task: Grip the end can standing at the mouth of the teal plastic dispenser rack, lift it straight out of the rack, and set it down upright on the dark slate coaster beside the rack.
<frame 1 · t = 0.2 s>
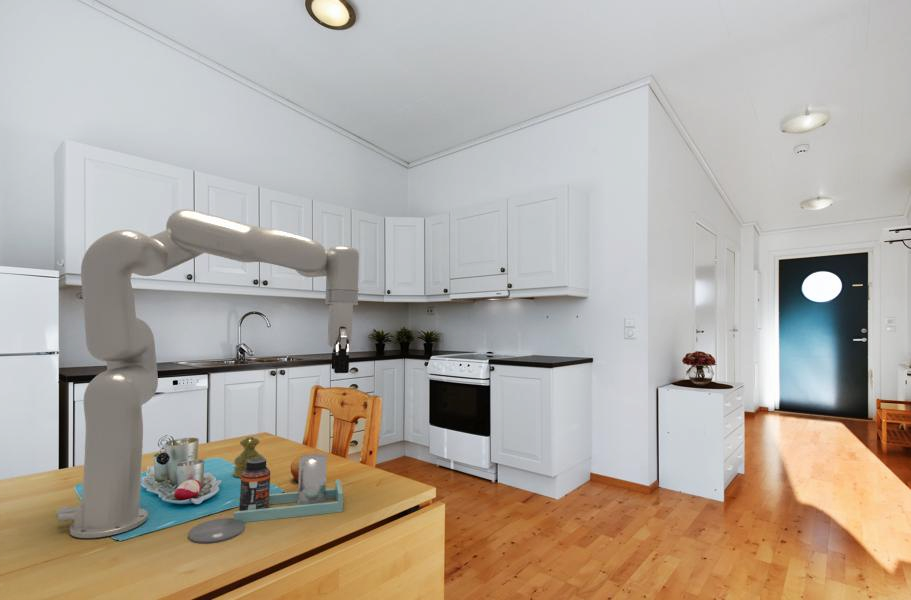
hand: (339, 370, 109), 31 cm above the table, tool pointing down, fingers open, 9 cm apart
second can: (311, 506, 105), resting in dispenser rack
dispenser rack: (288, 509, 103), on the table
supplement bottle: (254, 513, 101), resting in dispenser rack
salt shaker: (248, 475, 126), on the table
fruit: (306, 481, 122), on the table
coaster: (217, 531, 91), on the table
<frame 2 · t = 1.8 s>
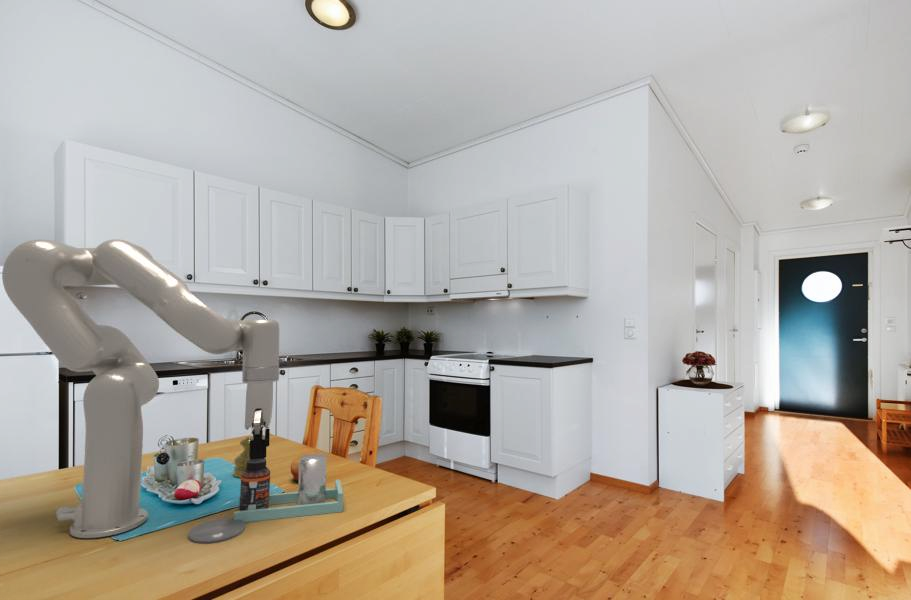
hand: (260, 452, 102), 13 cm above the table, tool pointing down, fingers open, 9 cm apart
nothing on the table moved.
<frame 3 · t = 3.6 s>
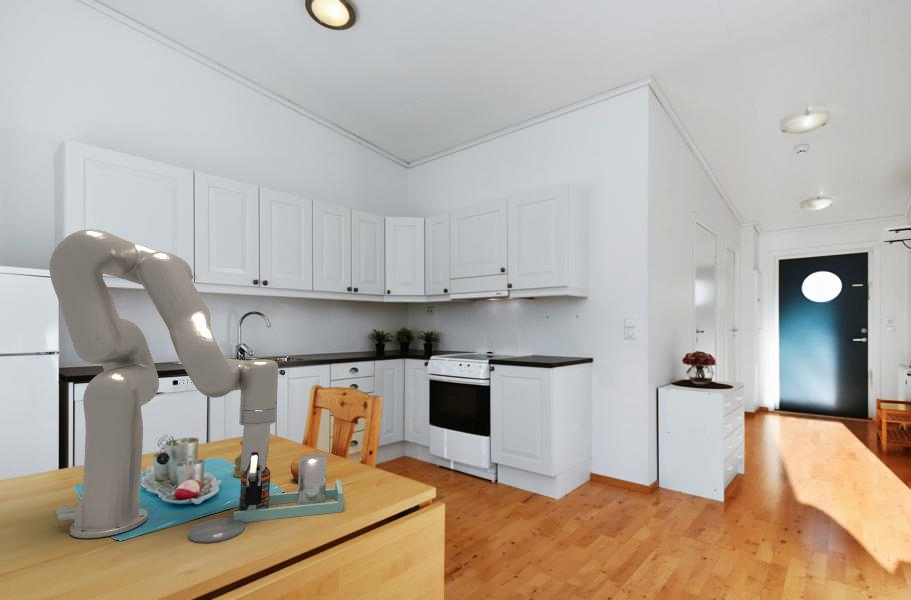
hand: (254, 498, 101), 3 cm above the table, tool pointing down, fingers closed on supplement bottle, 6 cm apart
supplement bottle: (254, 513, 101), resting in dispenser rack, touching gripper
everything else where it was.
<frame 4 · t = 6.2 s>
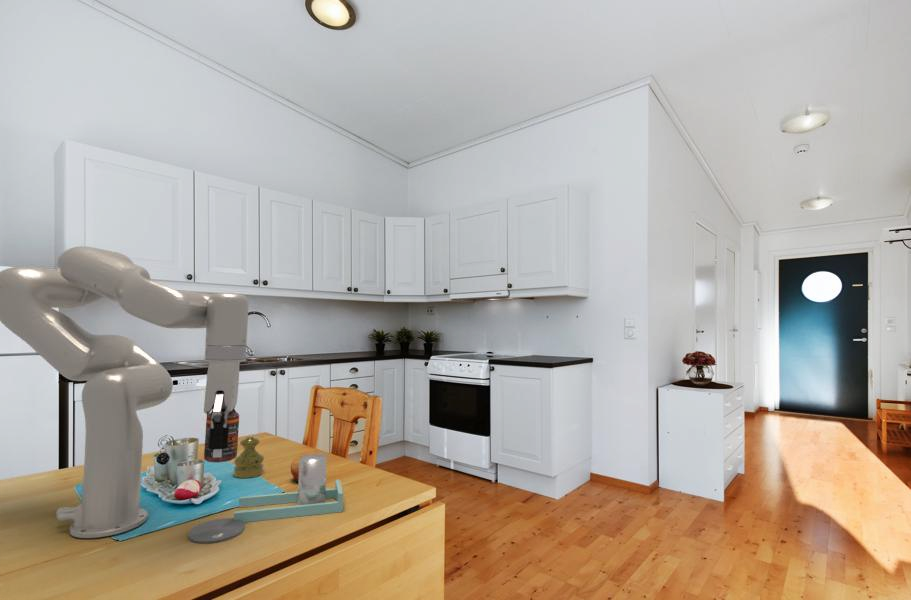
hand: (221, 443, 92), 17 cm above the table, tool pointing down, fingers closed on supplement bottle, 6 cm apart
supplement bottle: (220, 460, 92), point 14 cm above the table, touching gripper
everything else where it was.
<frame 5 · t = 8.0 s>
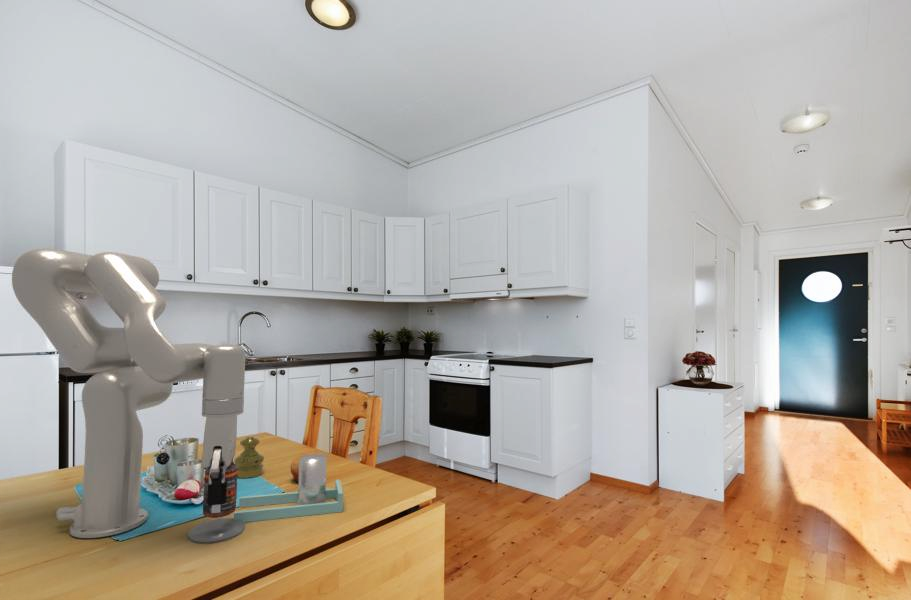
hand: (219, 497, 92), 7 cm above the table, tool pointing down, fingers closed on supplement bottle, 6 cm apart
supplement bottle: (219, 514, 91), point 3 cm above the table, touching gripper
everything else where it was.
when the fingers open (5 cm above the table, at t = 9.2 s): supplement bottle drops 2 cm, resting on coaster.
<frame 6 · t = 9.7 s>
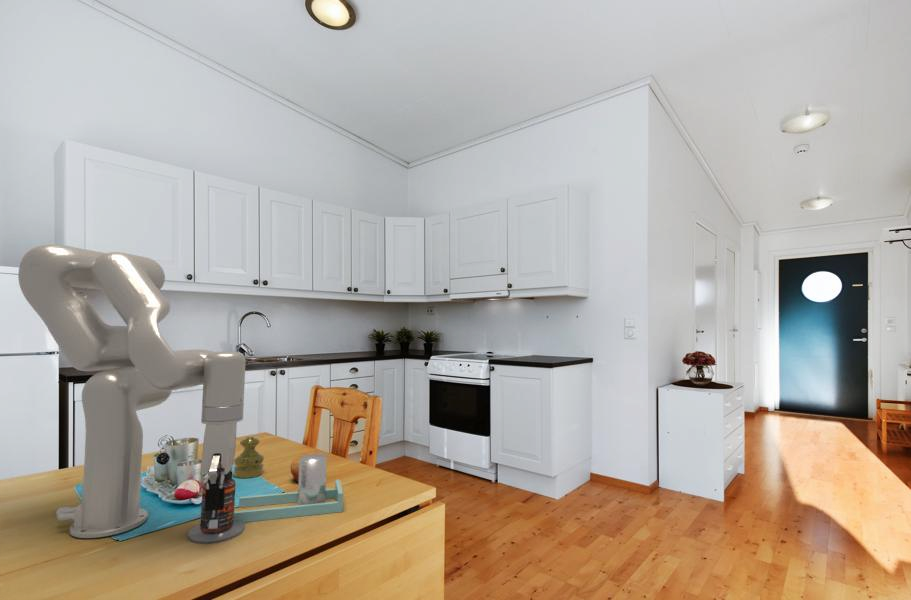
hand: (218, 500, 92), 6 cm above the table, tool pointing down, fingers open, 9 cm apart
supplement bottle: (216, 529, 91), resting on coaster
everything else where it was.
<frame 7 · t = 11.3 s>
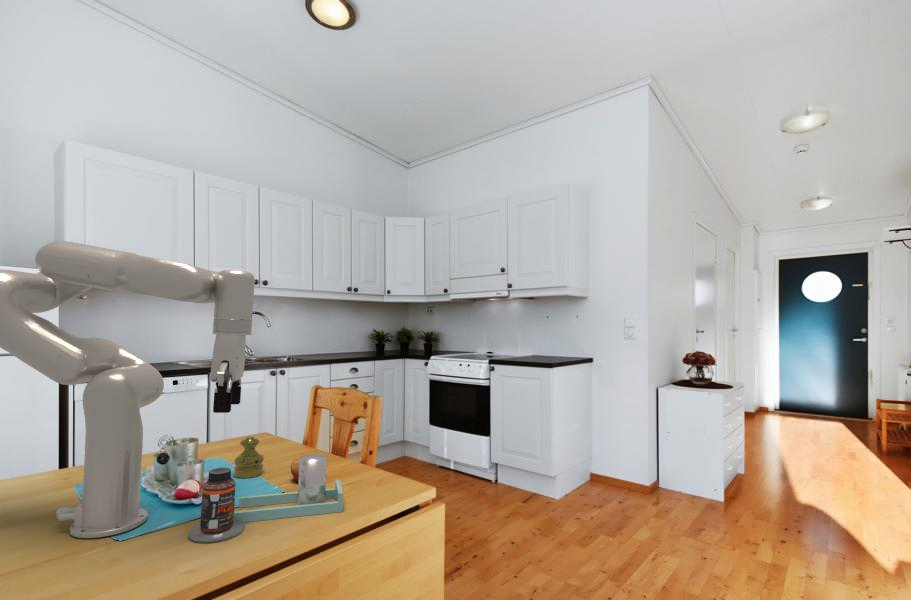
hand: (227, 408, 98), 23 cm above the table, tool pointing down, fingers open, 9 cm apart
nothing on the table moved.
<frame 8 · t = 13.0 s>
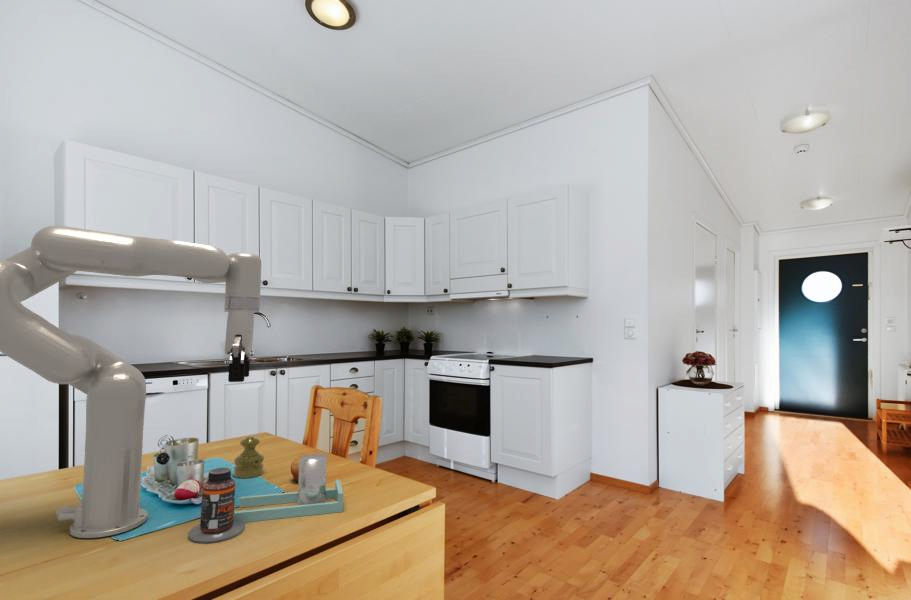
hand: (239, 379, 107), 28 cm above the table, tool pointing down, fingers open, 9 cm apart
nothing on the table moved.
at the end: supplement bottle 0.2 cm from the coaster (horizontally); supplement bottle tilted 0°; the gripper is holding nothing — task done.
